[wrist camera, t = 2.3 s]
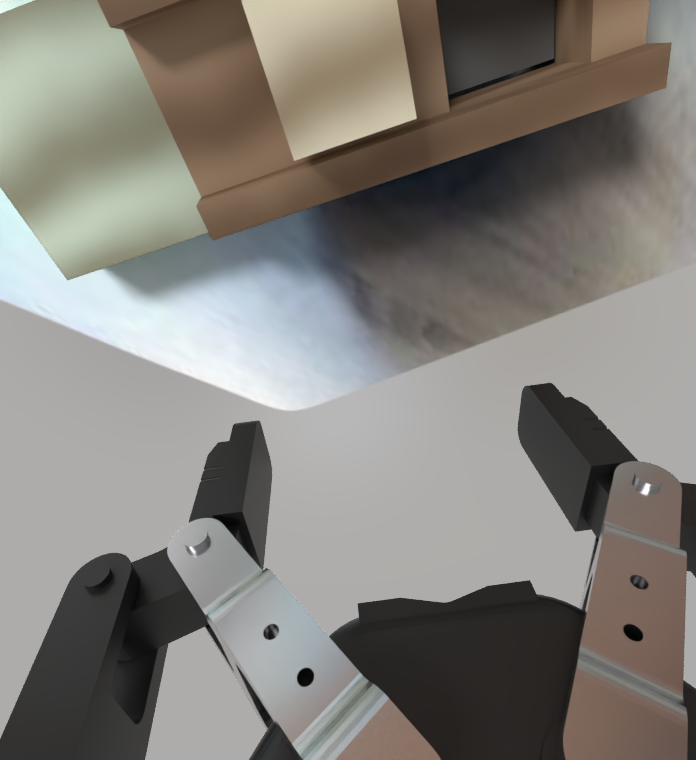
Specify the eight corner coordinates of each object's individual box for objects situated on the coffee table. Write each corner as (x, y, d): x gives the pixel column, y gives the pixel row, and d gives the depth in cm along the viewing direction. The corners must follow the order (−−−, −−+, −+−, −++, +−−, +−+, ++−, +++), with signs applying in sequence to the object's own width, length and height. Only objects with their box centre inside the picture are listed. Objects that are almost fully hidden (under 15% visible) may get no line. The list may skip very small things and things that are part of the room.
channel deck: (-47, 52, 24) (-130, 50, 19) (614, -201, 22) (710, -278, 17) (89, 257, 31) (54, 293, 26) (601, 83, 29) (666, 87, 24)
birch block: (248, 12, 22) (241, 0, 18) (367, -33, 21) (387, -55, 17) (292, 145, 25) (294, 161, 21) (394, 109, 25) (416, 118, 21)
